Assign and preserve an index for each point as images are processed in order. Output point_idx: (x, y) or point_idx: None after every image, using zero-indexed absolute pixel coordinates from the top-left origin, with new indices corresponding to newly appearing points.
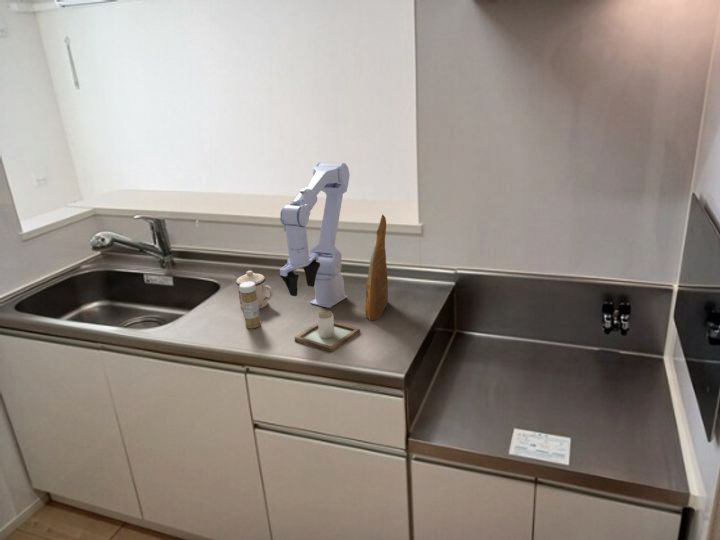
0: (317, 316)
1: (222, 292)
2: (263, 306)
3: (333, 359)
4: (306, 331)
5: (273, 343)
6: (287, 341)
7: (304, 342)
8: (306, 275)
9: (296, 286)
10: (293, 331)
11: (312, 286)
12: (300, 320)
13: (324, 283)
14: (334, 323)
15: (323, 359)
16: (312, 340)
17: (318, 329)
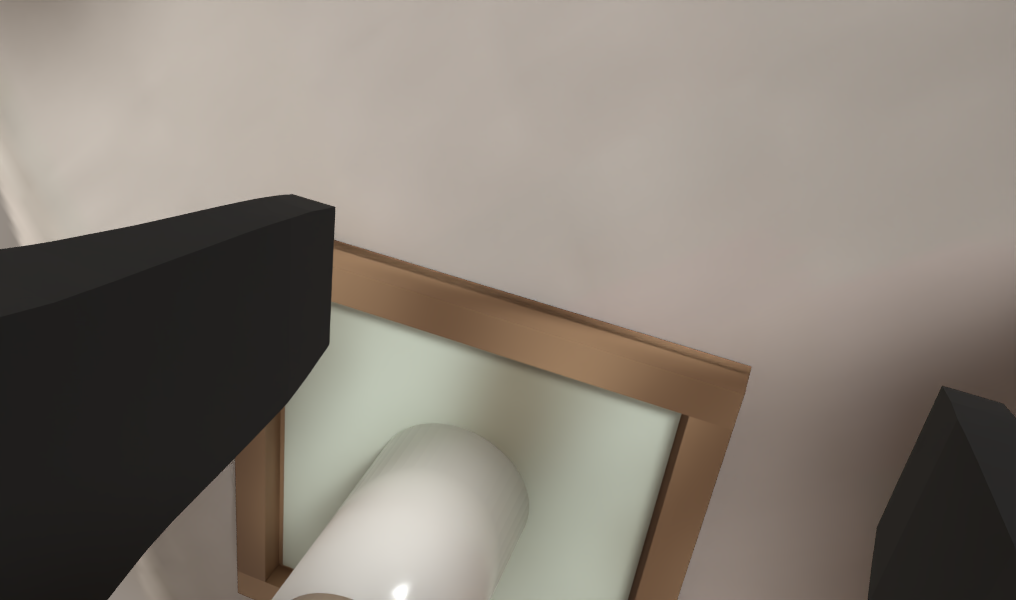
0: (288, 587)
1: None
2: None
3: (199, 593)
4: (381, 307)
5: (117, 12)
6: (218, 142)
7: None
8: (1004, 590)
9: (143, 519)
10: (417, 95)
11: (884, 523)
12: (725, 28)
13: None
14: (658, 533)
15: (164, 533)
16: (310, 396)
17: (372, 473)
